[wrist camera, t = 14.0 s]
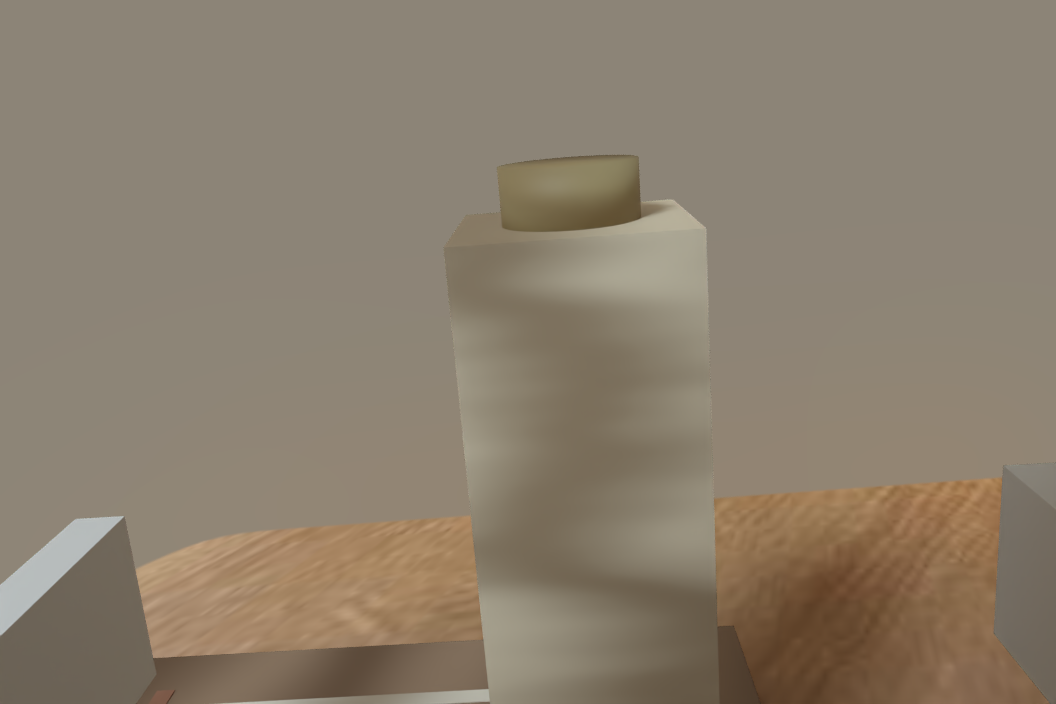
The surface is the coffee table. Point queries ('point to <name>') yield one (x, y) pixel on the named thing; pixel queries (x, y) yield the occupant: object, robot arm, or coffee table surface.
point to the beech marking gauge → (588, 436)
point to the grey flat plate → (371, 675)
